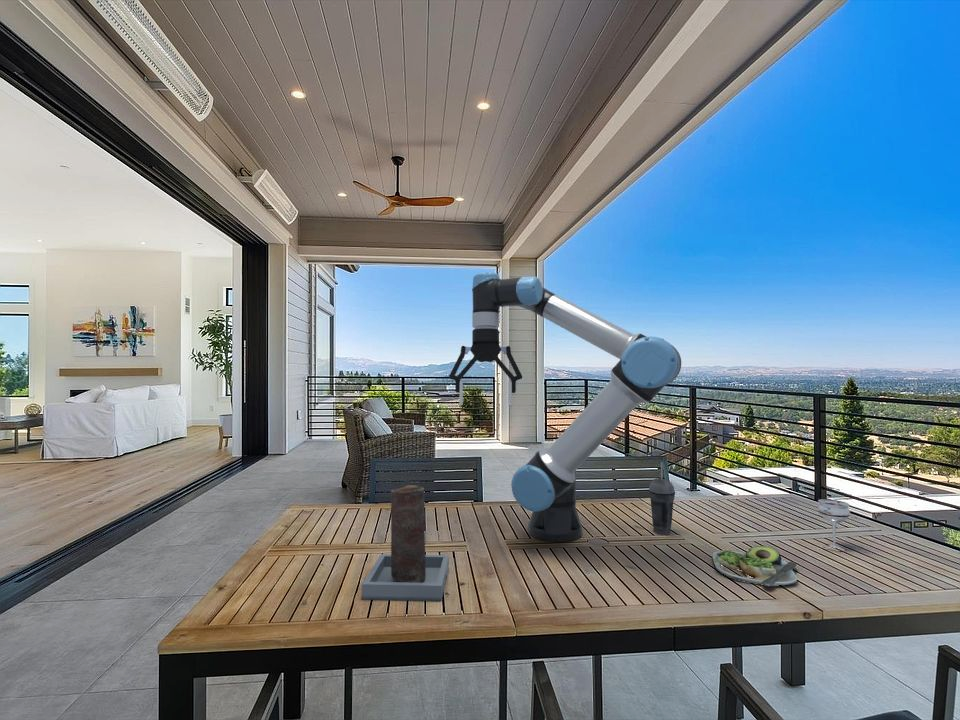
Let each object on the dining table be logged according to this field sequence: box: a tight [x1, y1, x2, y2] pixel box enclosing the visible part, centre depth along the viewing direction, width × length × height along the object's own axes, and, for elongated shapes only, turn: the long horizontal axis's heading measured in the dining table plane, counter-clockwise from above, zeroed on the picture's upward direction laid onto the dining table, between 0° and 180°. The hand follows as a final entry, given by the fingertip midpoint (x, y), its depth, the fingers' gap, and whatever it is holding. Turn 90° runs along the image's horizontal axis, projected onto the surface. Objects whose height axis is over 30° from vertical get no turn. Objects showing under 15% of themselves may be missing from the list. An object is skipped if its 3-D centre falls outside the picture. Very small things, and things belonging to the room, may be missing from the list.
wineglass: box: [817, 498, 851, 548], centre depth 125 cm, size 7×7×12 cm
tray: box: [361, 553, 450, 602], centre depth 103 cm, size 16×16×3 cm
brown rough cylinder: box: [390, 484, 426, 583], centre depth 103 cm, size 8×7×20 cm
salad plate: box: [711, 545, 798, 587], centre depth 109 cm, size 19×18×5 cm
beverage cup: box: [648, 461, 676, 536], centre depth 137 cm, size 7×7×20 cm
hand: (485, 405), depth 132 cm, fingers open, 13 cm apart
